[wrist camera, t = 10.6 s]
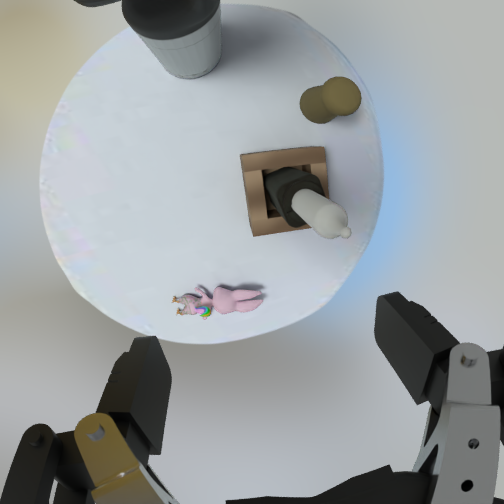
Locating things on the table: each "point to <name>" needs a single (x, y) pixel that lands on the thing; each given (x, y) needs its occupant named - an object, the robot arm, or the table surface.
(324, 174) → the box
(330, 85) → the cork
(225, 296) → the pink rainbow-tailed figurine
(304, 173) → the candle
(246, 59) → the table surface
